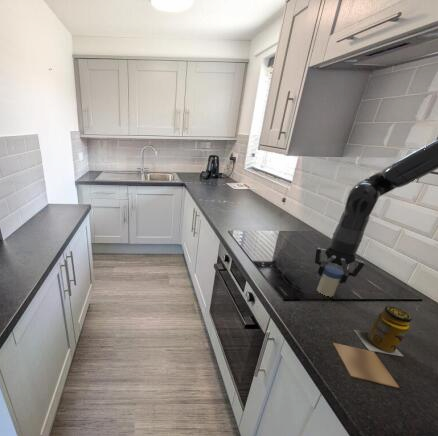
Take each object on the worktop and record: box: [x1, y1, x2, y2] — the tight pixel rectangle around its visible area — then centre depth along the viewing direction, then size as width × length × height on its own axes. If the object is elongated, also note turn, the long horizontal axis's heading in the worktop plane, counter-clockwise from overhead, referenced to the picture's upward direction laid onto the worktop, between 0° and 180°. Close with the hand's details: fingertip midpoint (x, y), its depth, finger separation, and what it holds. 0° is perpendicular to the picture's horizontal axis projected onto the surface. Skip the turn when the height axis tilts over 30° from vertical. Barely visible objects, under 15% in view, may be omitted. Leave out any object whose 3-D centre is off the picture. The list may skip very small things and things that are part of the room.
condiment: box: [353, 305, 413, 357], centre depth 66 cm, size 7×8×12 cm
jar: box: [316, 273, 341, 298], centre depth 87 cm, size 5×5×10 cm
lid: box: [322, 265, 344, 279], centre depth 85 cm, size 6×6×2 cm
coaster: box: [332, 342, 400, 389], centre depth 61 cm, size 10×10×1 cm
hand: (330, 278), depth 86 cm, fingers open, 5 cm apart
